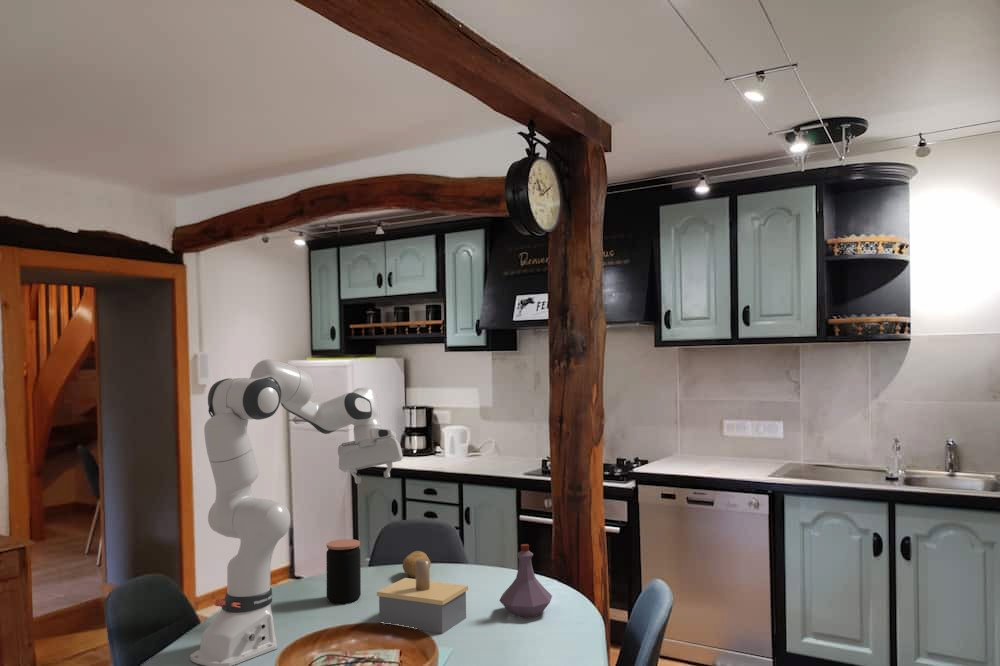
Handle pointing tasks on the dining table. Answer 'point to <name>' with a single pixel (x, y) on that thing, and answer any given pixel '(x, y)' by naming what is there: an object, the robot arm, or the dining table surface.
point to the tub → (423, 613)
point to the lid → (422, 588)
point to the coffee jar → (343, 571)
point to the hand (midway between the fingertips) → (372, 480)
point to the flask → (525, 590)
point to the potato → (413, 562)
